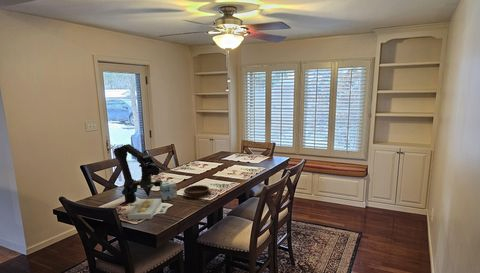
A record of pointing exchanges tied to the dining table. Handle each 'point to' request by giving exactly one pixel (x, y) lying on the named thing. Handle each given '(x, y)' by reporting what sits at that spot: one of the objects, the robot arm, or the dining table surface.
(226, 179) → the dining table surface
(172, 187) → the light bulb box
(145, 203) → the button
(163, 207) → the card
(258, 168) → the dining table surface
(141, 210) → the button
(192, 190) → the dish
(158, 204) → the board
